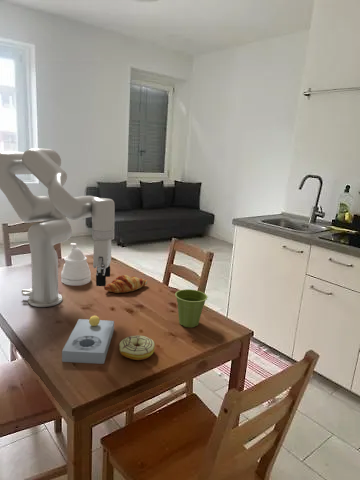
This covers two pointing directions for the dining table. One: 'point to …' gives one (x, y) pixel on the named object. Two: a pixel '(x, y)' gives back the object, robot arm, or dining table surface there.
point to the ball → (94, 320)
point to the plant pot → (190, 306)
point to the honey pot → (75, 268)
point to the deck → (88, 342)
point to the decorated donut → (137, 347)
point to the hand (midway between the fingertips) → (103, 281)
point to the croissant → (125, 284)
